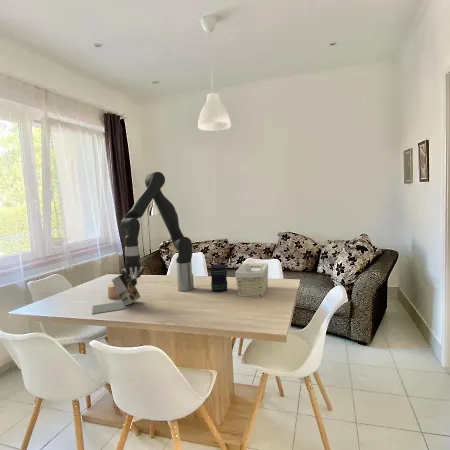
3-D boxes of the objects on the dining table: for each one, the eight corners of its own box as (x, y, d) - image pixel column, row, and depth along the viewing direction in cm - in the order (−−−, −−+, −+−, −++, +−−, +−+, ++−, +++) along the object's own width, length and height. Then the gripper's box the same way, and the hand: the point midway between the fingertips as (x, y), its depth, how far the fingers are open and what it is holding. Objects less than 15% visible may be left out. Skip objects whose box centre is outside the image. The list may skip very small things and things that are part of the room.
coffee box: (134, 301, 175) (120, 275, 175) (124, 306, 176) (110, 279, 176) (141, 296, 184) (128, 271, 184) (131, 301, 185) (119, 275, 185)
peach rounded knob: (120, 294, 200) (119, 283, 199) (121, 297, 193) (120, 286, 193) (108, 296, 197) (107, 285, 197) (108, 299, 191) (107, 287, 190)
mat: (123, 301, 185) (123, 301, 185) (125, 309, 172) (125, 308, 172) (92, 306, 179) (92, 305, 179) (92, 314, 166) (92, 313, 166)
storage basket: (263, 298, 179) (262, 271, 178) (235, 297, 184) (233, 271, 183) (269, 286, 202) (268, 263, 201) (244, 285, 207) (243, 262, 206)
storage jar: (228, 287, 204) (227, 264, 202) (226, 292, 194) (225, 267, 193) (212, 288, 205) (211, 264, 203) (210, 292, 195) (209, 267, 194)
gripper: (143, 252, 184) (145, 282, 185) (119, 254, 179) (121, 285, 181) (145, 254, 177) (147, 285, 178) (120, 256, 172) (122, 288, 174)
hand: (134, 285), depth 179 cm, fingers closed
